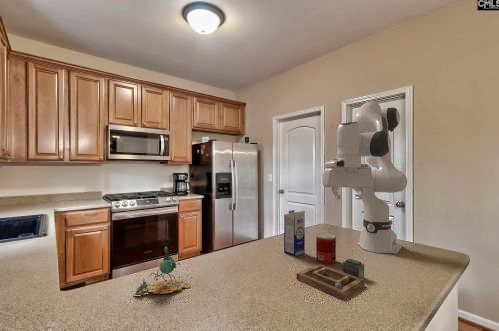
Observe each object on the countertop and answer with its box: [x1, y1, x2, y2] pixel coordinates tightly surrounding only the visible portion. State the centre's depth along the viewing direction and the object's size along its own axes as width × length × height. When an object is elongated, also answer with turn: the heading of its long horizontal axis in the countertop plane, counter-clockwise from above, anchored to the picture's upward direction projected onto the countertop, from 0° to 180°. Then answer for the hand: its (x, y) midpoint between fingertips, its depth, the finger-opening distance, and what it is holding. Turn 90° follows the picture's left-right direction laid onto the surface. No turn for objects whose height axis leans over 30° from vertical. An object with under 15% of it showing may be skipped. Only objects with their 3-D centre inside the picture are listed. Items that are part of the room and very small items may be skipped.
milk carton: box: [283, 209, 306, 258], centre depth 115 cm, size 7×7×20 cm
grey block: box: [342, 258, 365, 280], centre depth 91 cm, size 4×6×6 cm, turn 39°
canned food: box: [315, 232, 337, 265], centre depth 105 cm, size 8×8×11 cm
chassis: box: [295, 263, 365, 300], centre depth 86 cm, size 14×18×3 cm
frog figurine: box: [133, 246, 192, 296], centre depth 81 cm, size 10×18×15 cm, turn 105°
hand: (348, 199), depth 95 cm, fingers open, 8 cm apart
